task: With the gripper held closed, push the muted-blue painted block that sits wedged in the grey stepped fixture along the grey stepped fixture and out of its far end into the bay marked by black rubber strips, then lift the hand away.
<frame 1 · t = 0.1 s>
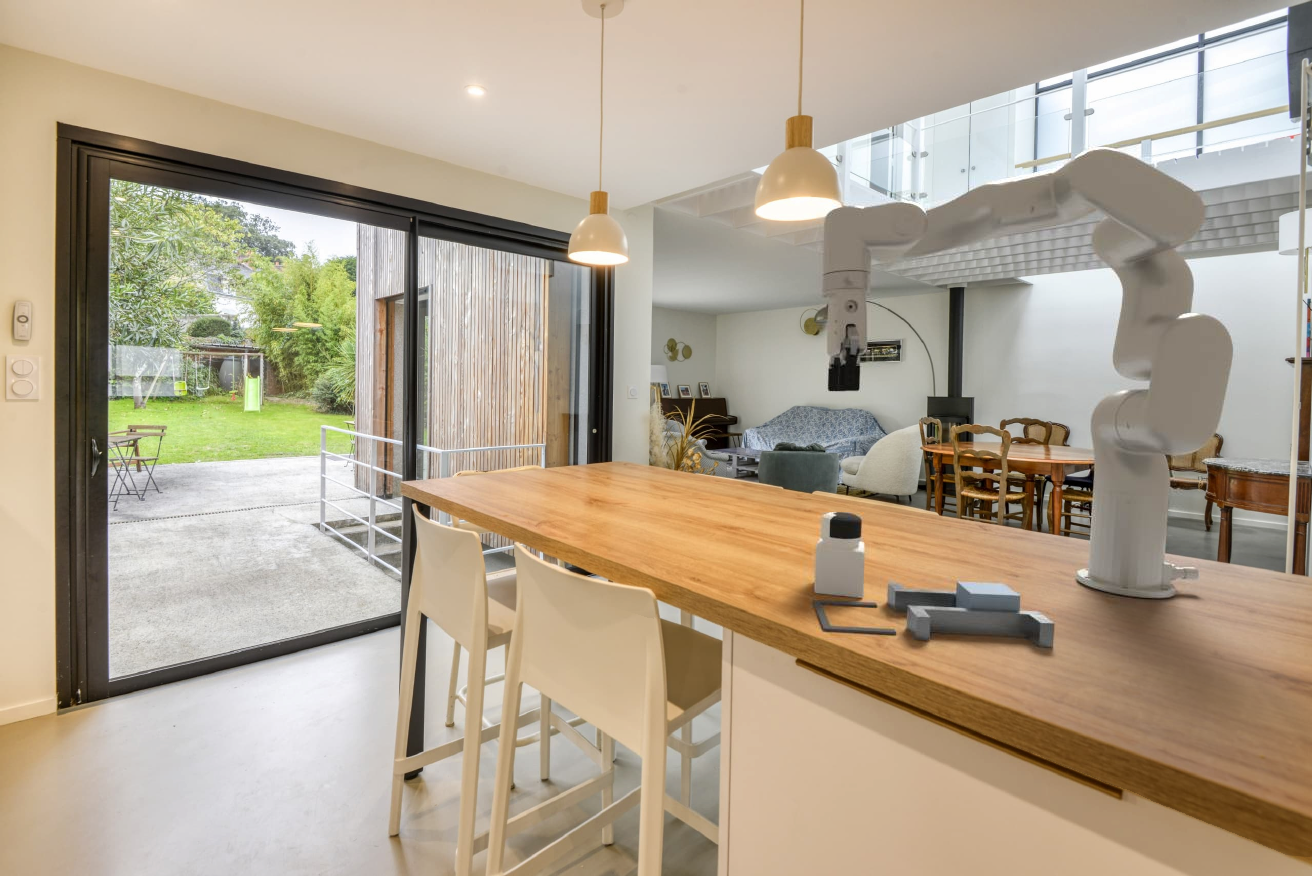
hand: (842, 391, 100), 31 cm above the table, tool pointing down, fingers open, 9 cm apart
bay: (854, 617, 82), on the table
medicine bottle: (839, 590, 94), on the table
block: (985, 624, 80), on the table
grey stepped fixture: (962, 622, 81), on the table
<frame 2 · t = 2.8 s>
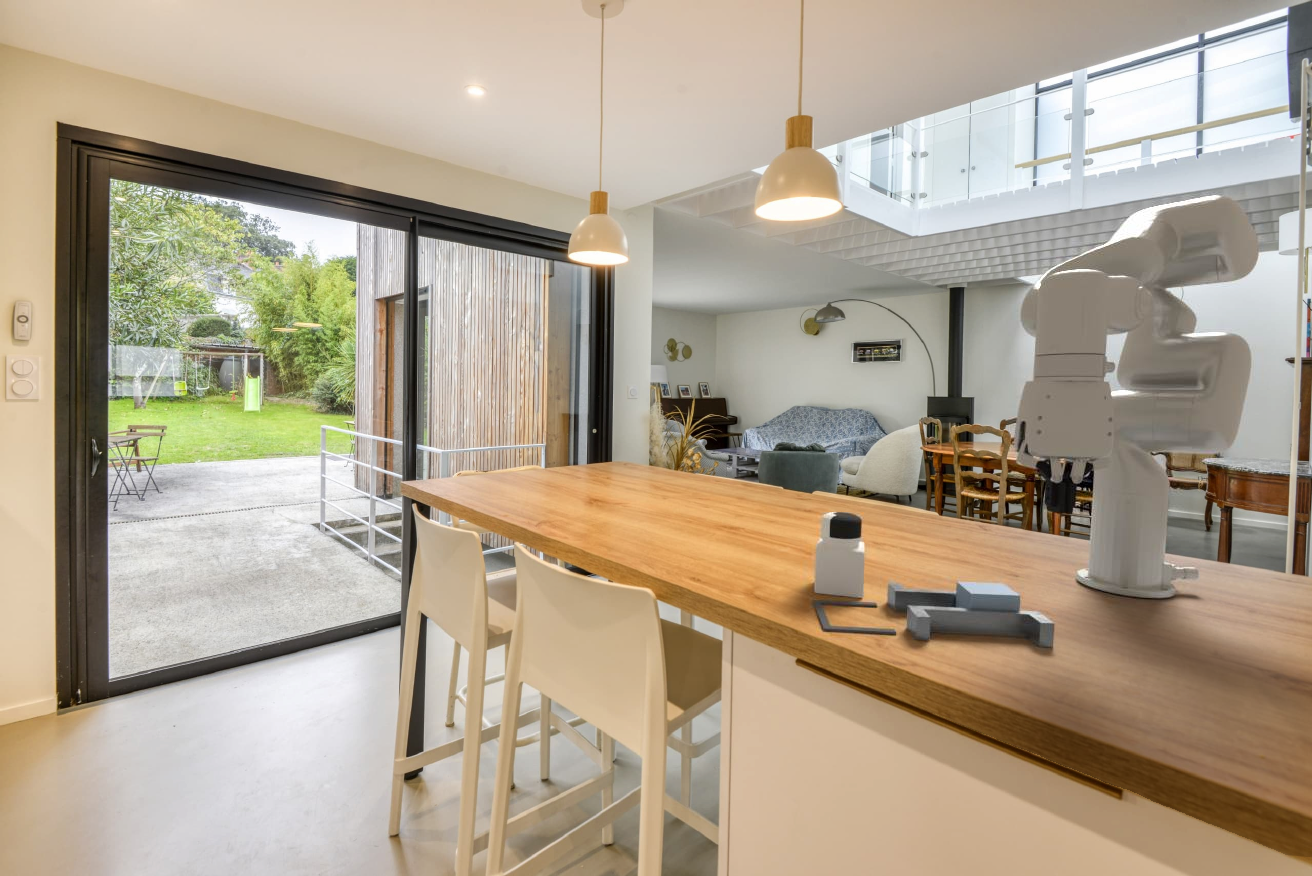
hand: (1059, 511, 78), 15 cm above the table, tool pointing down, fingers closed
nothing on the table moved.
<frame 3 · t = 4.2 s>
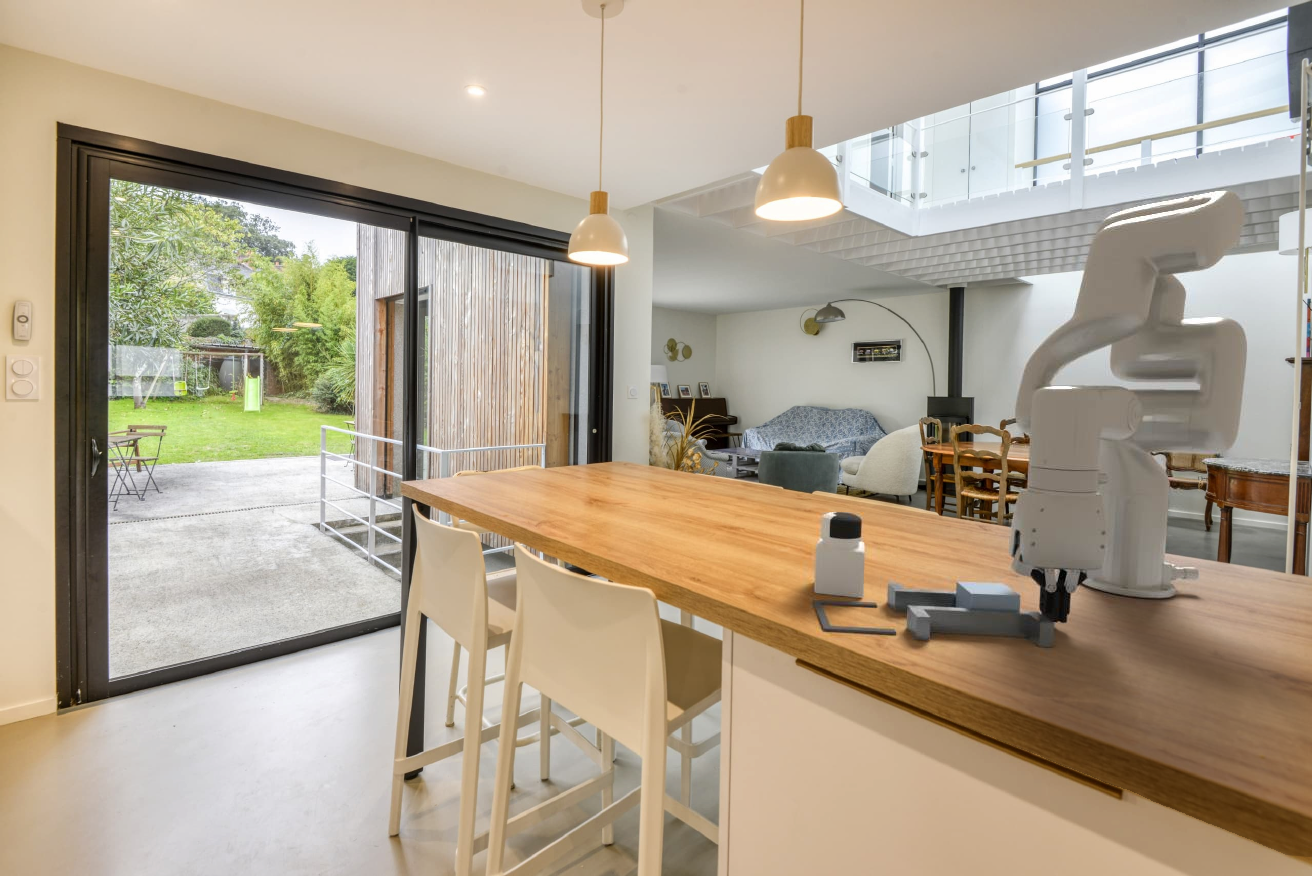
hand: (1053, 618, 79), 1 cm above the table, tool pointing down, fingers closed
nothing on the table moved.
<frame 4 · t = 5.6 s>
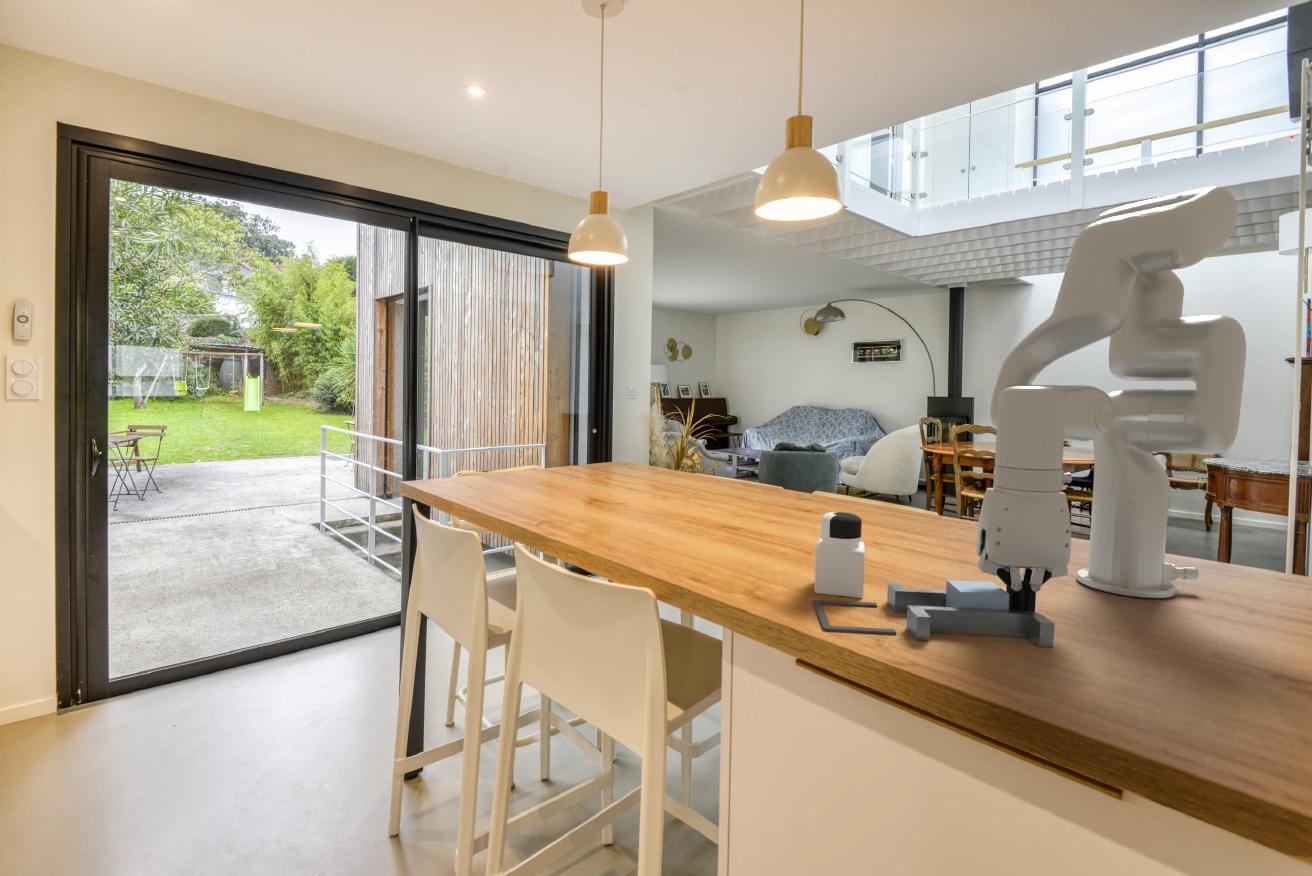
hand: (1019, 617, 80), 1 cm above the table, tool pointing down, fingers closed
block: (975, 623, 80), on the table, touching gripper
everything else where it was.
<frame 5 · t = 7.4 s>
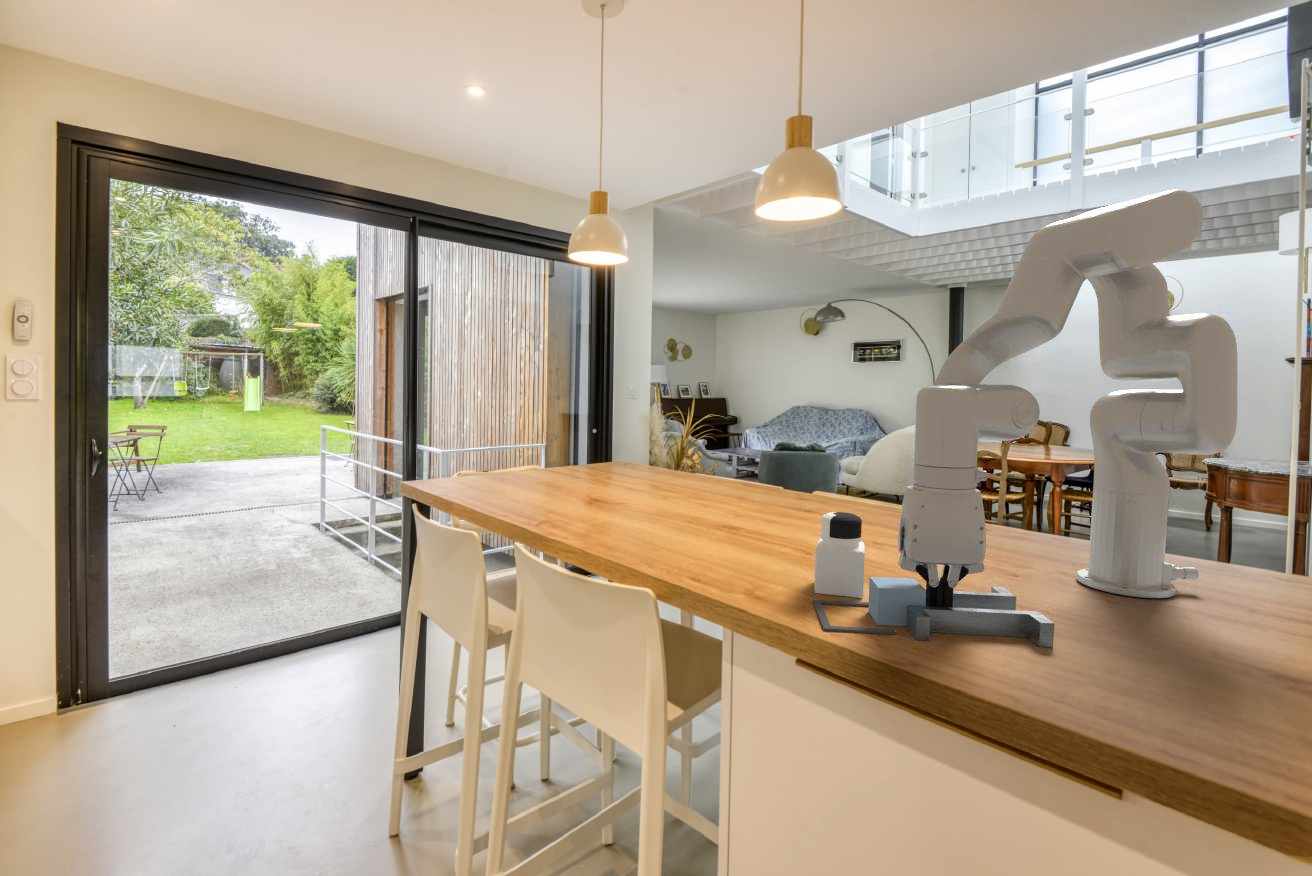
hand: (938, 612, 81), 1 cm above the table, tool pointing down, fingers closed
block: (895, 618, 82), on the table, touching gripper
everything else where it was.
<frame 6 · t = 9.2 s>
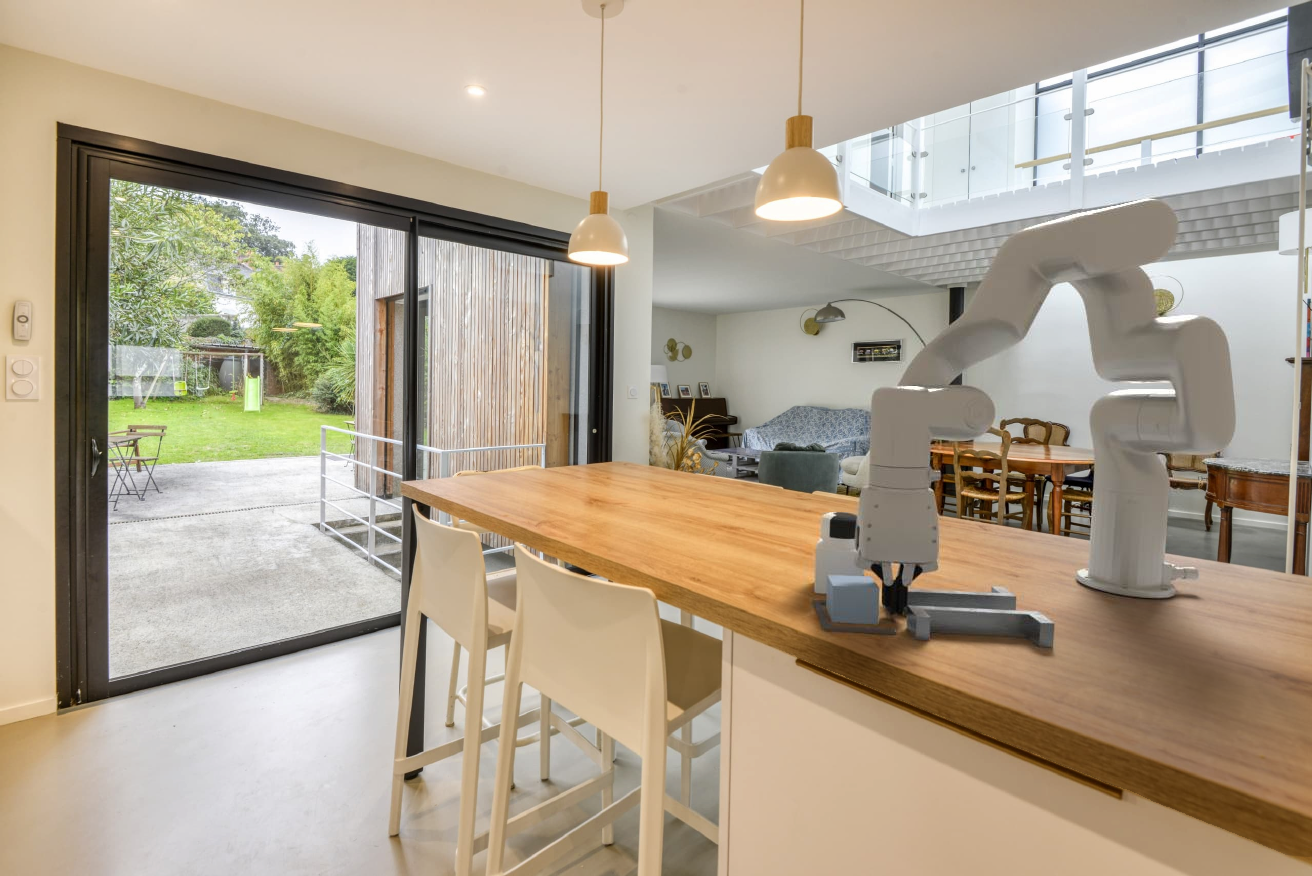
hand: (893, 611, 82), 1 cm above the table, tool pointing down, fingers closed
block: (851, 616, 83), on the table, touching gripper
everything else where it was.
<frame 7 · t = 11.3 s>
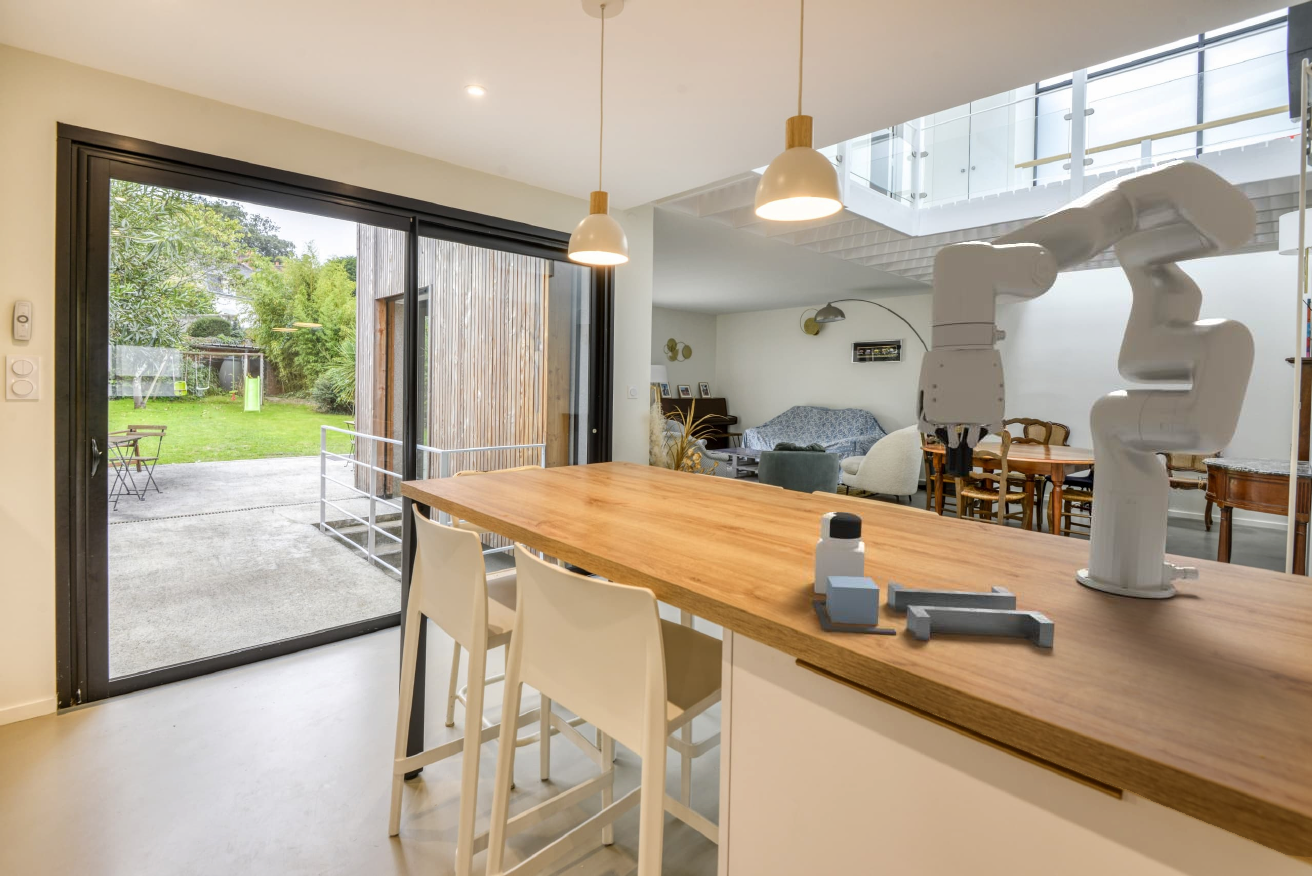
hand: (958, 476, 81), 20 cm above the table, tool pointing down, fingers closed
block: (851, 617, 83), on the table
everything else where it was.
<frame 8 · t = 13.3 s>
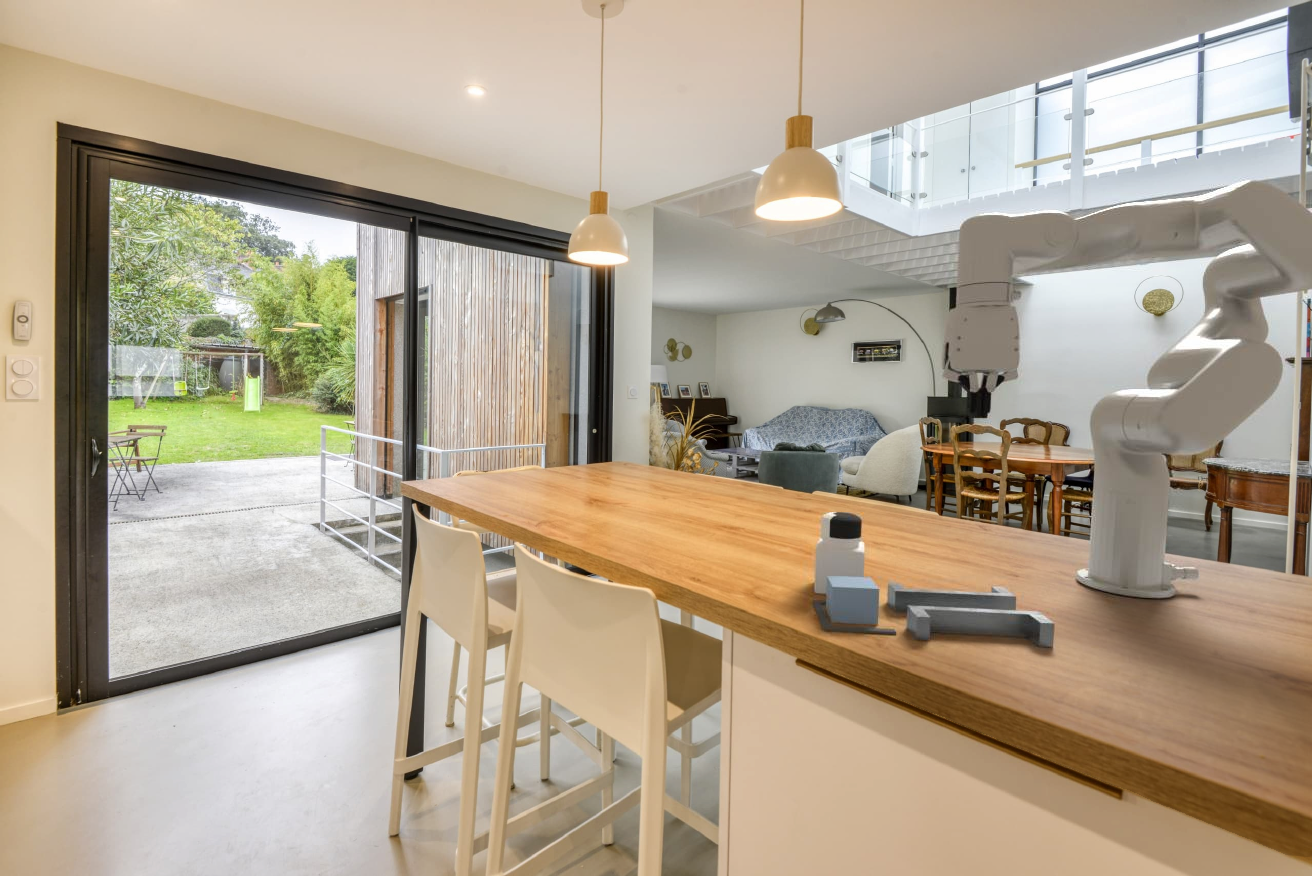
hand: (977, 417, 94), 27 cm above the table, tool pointing down, fingers closed
nothing on the table moved.
at the end: block inside the target area (0.2 cm from its centre), on the table; block moved 17.5 cm from its start; block tilted 0° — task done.
